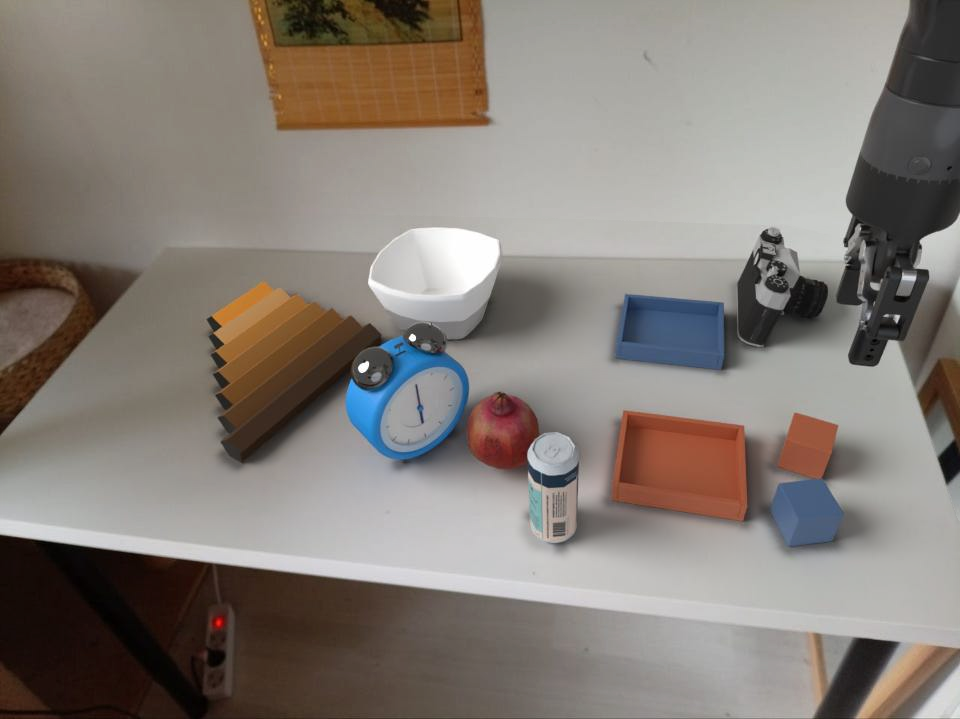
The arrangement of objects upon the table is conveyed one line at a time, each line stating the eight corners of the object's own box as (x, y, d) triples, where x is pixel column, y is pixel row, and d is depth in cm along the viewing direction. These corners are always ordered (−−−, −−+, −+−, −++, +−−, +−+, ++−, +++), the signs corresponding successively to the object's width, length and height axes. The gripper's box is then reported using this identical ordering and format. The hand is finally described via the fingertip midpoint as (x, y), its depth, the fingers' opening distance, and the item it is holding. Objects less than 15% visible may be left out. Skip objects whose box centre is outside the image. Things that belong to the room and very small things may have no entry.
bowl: (413, 272, 108) (404, 220, 102) (519, 288, 103) (517, 234, 96) (360, 341, 96) (347, 285, 89) (479, 363, 90) (473, 306, 84)
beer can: (585, 519, 70) (589, 440, 63) (562, 553, 67) (563, 475, 60) (544, 500, 73) (543, 421, 65) (521, 532, 70) (517, 454, 62)
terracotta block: (827, 452, 75) (838, 424, 72) (820, 480, 72) (831, 453, 69) (785, 439, 77) (794, 412, 74) (777, 466, 74) (786, 439, 71)
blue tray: (720, 316, 94) (723, 302, 92) (721, 370, 86) (724, 355, 84) (623, 307, 97) (625, 293, 95) (615, 358, 89) (616, 343, 87)
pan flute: (245, 465, 79) (383, 346, 94) (236, 445, 77) (379, 326, 92) (121, 391, 91) (262, 295, 106) (110, 372, 89) (256, 277, 104)
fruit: (544, 434, 80) (543, 371, 73) (535, 489, 74) (533, 425, 67) (476, 429, 81) (469, 366, 75) (463, 482, 75) (454, 418, 69)
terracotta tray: (740, 440, 77) (744, 425, 75) (743, 521, 69) (747, 506, 67) (621, 424, 80) (623, 409, 78) (611, 500, 72) (612, 485, 70)
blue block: (811, 505, 70) (822, 477, 67) (832, 541, 66) (844, 514, 64) (769, 510, 70) (778, 483, 67) (787, 547, 66) (798, 519, 63)
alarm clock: (384, 482, 76) (358, 383, 66) (355, 451, 80) (328, 354, 70) (475, 424, 82) (464, 326, 72) (445, 398, 86) (431, 301, 76)
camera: (813, 361, 88) (851, 300, 81) (729, 339, 89) (759, 278, 82) (804, 295, 98) (836, 237, 91) (729, 277, 100) (755, 218, 93)
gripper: (1011, 203, 42) (919, 392, 53) (955, 115, 53) (888, 288, 63) (877, 196, 44) (815, 380, 55) (849, 112, 54) (801, 281, 65)
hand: (854, 331), depth 59 cm, fingers open, 8 cm apart
